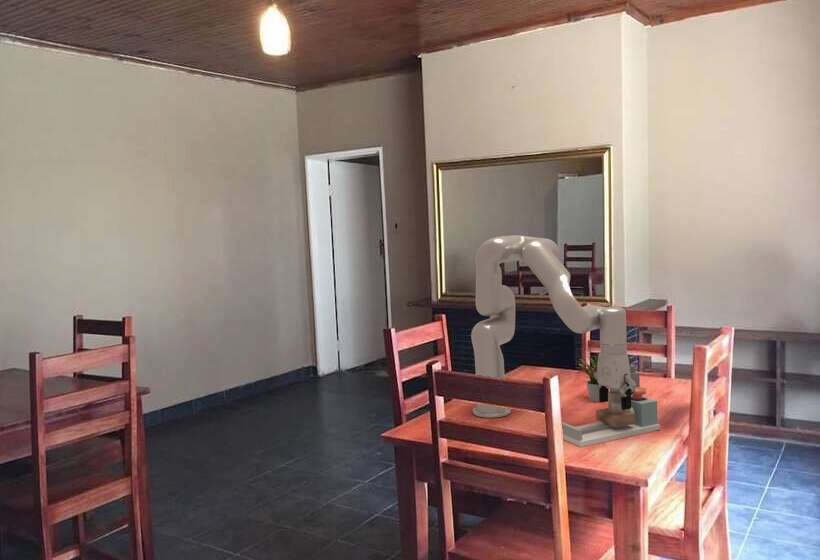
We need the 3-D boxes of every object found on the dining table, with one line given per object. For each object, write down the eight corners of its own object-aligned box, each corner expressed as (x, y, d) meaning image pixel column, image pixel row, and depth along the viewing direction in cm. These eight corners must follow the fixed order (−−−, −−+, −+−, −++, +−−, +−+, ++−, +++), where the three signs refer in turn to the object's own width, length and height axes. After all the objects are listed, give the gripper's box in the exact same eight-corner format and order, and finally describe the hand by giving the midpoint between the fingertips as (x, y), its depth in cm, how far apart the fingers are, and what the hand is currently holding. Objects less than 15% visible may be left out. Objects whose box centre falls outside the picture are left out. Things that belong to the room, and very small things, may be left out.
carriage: (596, 420, 206) (595, 390, 205) (614, 416, 208) (613, 387, 208) (616, 427, 197) (615, 397, 197) (635, 423, 200) (634, 393, 199)
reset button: (624, 398, 207) (624, 388, 207) (637, 395, 209) (637, 386, 209) (636, 402, 202) (636, 392, 202) (650, 399, 205) (649, 389, 204)
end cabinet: (617, 419, 210) (617, 396, 209) (633, 415, 212) (633, 393, 212) (640, 427, 201) (640, 404, 200) (657, 423, 203) (657, 400, 203)
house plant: (617, 393, 244) (616, 348, 243) (625, 404, 231) (624, 356, 229) (576, 394, 246) (575, 350, 244) (582, 405, 232) (581, 358, 231)
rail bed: (555, 435, 202) (554, 420, 201) (631, 419, 213) (631, 405, 213) (581, 447, 191) (580, 431, 190) (660, 429, 202) (659, 414, 202)
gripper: (584, 346, 207) (586, 400, 209) (623, 355, 192) (625, 414, 193) (604, 343, 210) (605, 397, 212) (644, 351, 195) (645, 410, 196)
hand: (615, 405), depth 203 cm, fingers open, 9 cm apart
